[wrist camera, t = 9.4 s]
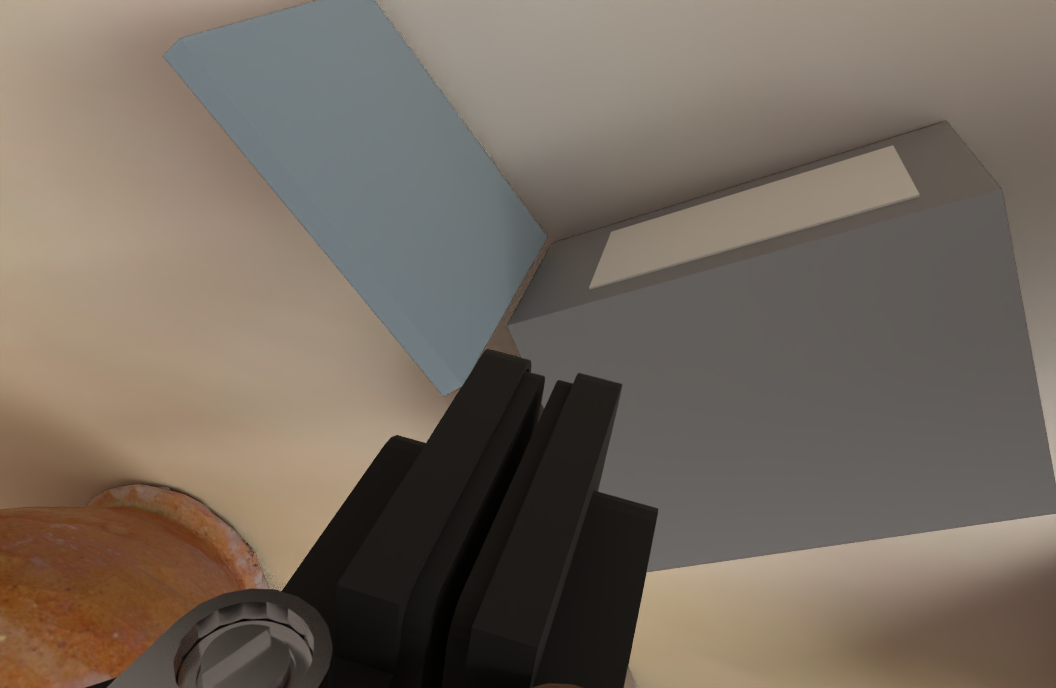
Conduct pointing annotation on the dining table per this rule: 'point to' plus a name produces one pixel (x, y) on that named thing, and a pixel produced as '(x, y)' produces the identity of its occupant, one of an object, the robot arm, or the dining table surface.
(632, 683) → the vintage camera
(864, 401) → the box
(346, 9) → the side door
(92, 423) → the dining table surface
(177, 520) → the jug
